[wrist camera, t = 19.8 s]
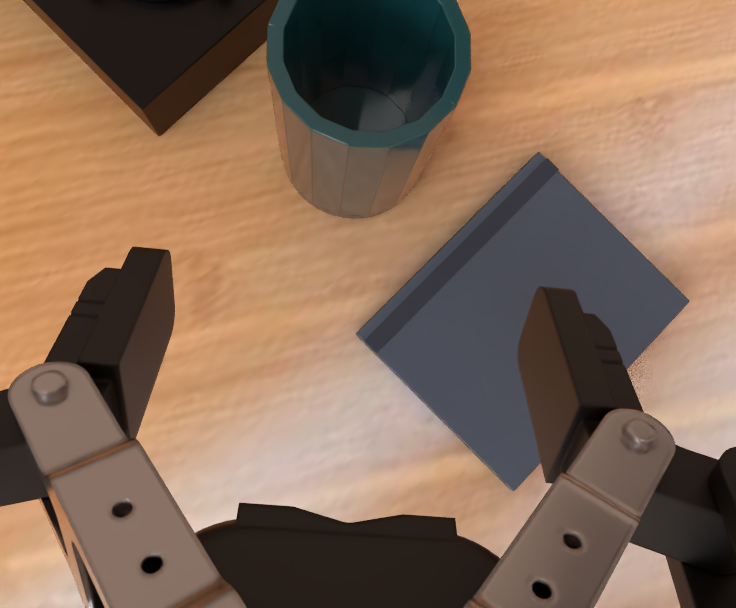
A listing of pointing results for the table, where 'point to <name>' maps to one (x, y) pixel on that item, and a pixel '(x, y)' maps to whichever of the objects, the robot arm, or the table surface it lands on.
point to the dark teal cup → (363, 95)
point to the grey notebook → (513, 309)
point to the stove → (159, 46)
